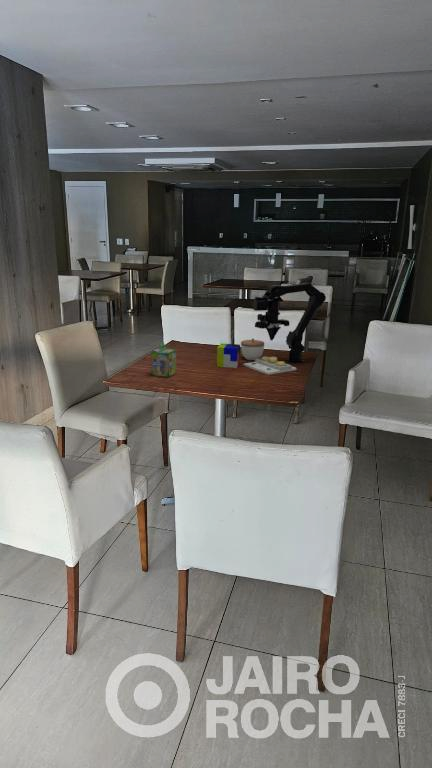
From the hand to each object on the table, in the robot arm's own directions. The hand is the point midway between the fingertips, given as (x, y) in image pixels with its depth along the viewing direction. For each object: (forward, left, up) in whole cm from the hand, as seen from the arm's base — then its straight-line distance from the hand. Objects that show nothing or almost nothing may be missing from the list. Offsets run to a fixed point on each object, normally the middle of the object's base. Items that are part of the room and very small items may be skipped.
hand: (271, 340), depth 257 cm
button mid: (+5, +8, -10) cm, 13 cm away
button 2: (+5, +14, -11) cm, 18 cm away
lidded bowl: (+3, -12, -12) cm, 17 cm away
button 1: (+5, +2, -11) cm, 12 cm away
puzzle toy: (+22, -7, -12) cm, 26 cm away
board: (+7, +8, -12) cm, 16 cm away
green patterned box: (+59, -7, -12) cm, 61 cm away
